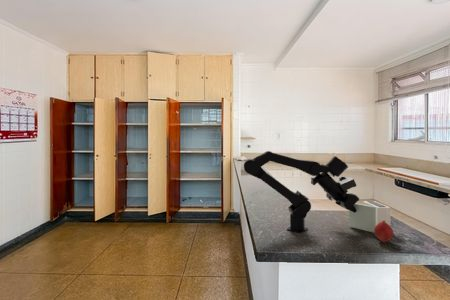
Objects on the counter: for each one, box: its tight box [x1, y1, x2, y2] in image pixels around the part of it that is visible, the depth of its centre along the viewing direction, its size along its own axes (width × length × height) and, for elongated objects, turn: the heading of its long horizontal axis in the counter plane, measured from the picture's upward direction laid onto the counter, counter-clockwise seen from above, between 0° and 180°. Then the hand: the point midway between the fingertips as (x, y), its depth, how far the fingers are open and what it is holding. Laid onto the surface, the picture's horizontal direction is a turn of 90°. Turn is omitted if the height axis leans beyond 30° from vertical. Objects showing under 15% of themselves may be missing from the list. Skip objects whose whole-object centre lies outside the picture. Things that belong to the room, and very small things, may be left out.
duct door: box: [348, 202, 376, 233], centre depth 108 cm, size 1×10×10 cm, turn 39°
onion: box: [373, 220, 394, 243], centre depth 95 cm, size 6×6×8 cm
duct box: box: [362, 200, 391, 227], centre depth 110 cm, size 5×11×10 cm, turn 0°
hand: (355, 211), depth 109 cm, fingers closed
